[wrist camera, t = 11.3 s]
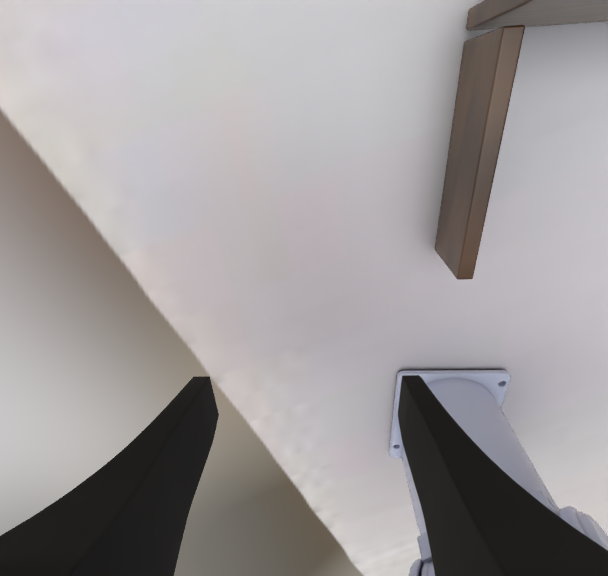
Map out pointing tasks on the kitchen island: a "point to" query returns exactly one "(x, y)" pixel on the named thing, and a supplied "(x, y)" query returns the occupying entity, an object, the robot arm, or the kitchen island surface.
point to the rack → (489, 114)
